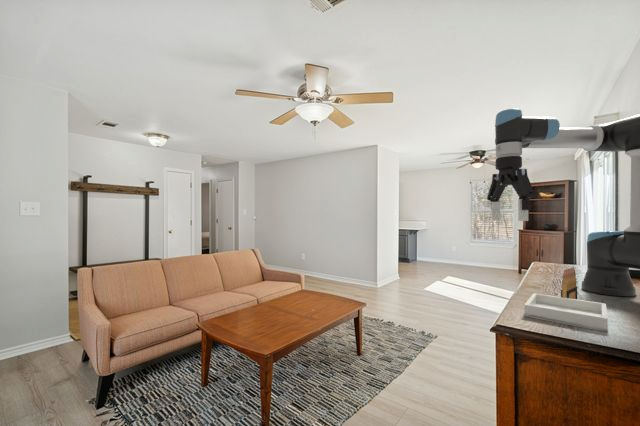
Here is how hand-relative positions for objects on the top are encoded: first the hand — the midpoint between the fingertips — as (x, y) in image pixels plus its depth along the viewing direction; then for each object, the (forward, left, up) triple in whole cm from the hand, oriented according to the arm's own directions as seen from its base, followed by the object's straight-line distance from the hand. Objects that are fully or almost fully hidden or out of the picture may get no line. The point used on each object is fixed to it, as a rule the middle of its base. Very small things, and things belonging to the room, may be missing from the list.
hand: (508, 220), depth 101 cm
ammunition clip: (-23, -2, -29) cm, 37 cm away
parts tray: (-10, +11, -28) cm, 32 cm away
